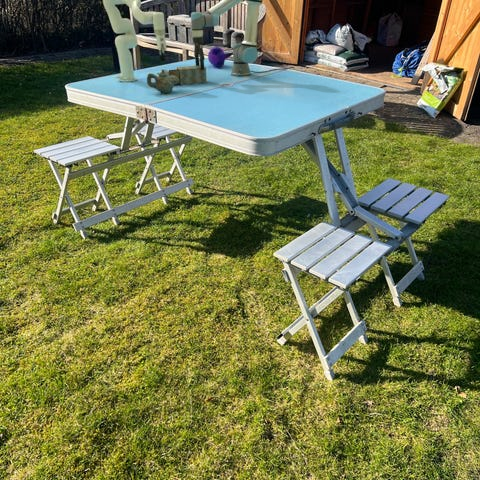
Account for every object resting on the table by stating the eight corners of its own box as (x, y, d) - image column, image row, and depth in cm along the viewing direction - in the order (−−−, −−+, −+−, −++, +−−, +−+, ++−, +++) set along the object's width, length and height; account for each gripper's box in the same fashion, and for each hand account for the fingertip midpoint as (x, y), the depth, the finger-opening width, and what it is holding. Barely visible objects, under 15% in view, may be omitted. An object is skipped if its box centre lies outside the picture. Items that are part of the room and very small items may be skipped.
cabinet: (181, 85, 324) (179, 69, 318) (178, 82, 332) (176, 67, 327) (206, 83, 329) (206, 67, 323) (203, 80, 337) (202, 65, 332)
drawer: (160, 85, 320) (159, 72, 315) (158, 83, 327) (156, 70, 323) (192, 82, 326) (192, 69, 322) (190, 80, 334) (189, 67, 329)
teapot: (178, 89, 310) (176, 66, 303) (181, 93, 301) (179, 69, 293) (147, 92, 305) (144, 69, 297) (149, 95, 295) (147, 71, 288)
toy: (218, 69, 373) (208, 68, 396) (237, 62, 376) (226, 61, 399) (212, 50, 365) (203, 50, 388) (232, 42, 368) (221, 43, 392)
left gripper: (167, 33, 302) (170, 62, 311) (163, 31, 314) (165, 59, 324) (156, 33, 300) (159, 62, 309) (152, 31, 312) (155, 59, 321)
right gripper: (207, 38, 307) (209, 70, 318) (198, 34, 328) (200, 65, 339) (197, 39, 305) (199, 71, 316) (188, 35, 326) (191, 66, 337)
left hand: (162, 60), depth 316 cm, fingers closed
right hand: (200, 68), depth 327 cm, fingers open, 13 cm apart
